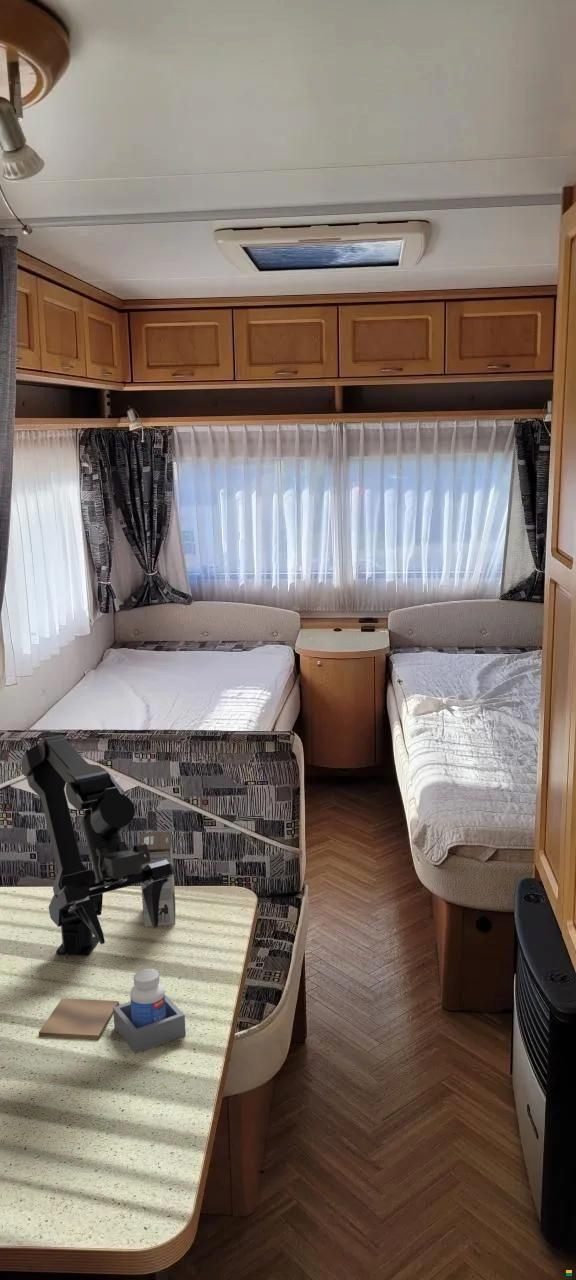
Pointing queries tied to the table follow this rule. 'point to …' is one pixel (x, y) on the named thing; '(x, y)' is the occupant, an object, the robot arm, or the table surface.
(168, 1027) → the holder box
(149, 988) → the pill bottle
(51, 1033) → the walnut coaster
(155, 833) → the coffee box
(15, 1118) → the table surface
